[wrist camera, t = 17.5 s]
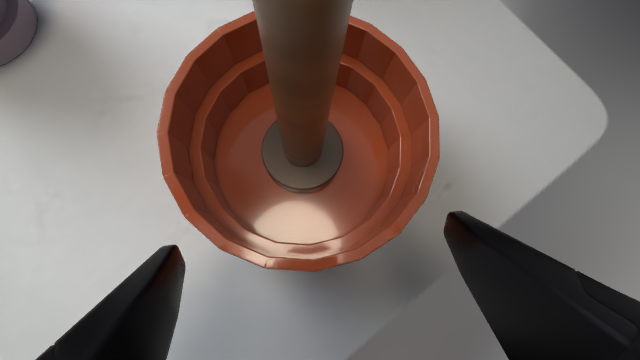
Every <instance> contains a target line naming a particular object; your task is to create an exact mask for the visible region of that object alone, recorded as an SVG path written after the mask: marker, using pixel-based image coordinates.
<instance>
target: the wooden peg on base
mask: <svg viewBox="0 0 640 360" xmlns="http://www.w3.org/2000/svg"><path fill="white" fill-rule="evenodd" d="M252 1H253V6H254V10H255V15H256V20H257V25H258V30H259V34H260V39H261V44H262V49H263V54H264V58H265V63H266V68H267V73H268V78H269V82H270V87H271V92H272V97H273V101H274V106H275V111H276V116H277V120H276V121H275V122H274V123H273V124H272V125H271V126H270V127H269V129H268V130H267V132H266V134H265V136H264V138H263V142H262V149H261V152H262V159H263V163H264V165H265V167H266V169H267V171H268V173H269V175H270V177H271V178H272V179H273V180H274V182H275V183H277V184H278V185H279V186H280V187H282V188H284V189H286V190H288V191H291V192H294V193H311V192H315V191H317V190H320V189H322V188H323V187H325V186H326V185H328V184H329V183H330V182H331V181H332V180H333V178H334V177H335V175H336V174H337V172H338V170H339V168H340V165H341V163H342V159H343V143H342V139H341V137H340V134H339V132H338V131H337V129H336V128H335V127H334V125H333V124H332V123H331V122H329V121H328V118H329V113H330V109H331V104H332V99H333V94H334V89H335V85H336V80H337V75H338V70H339V65H340V61H341V56H342V51H343V46H344V41H345V37H346V32H347V27H348V22H349V17H350V13H351V8H352V3H353V0H252Z"/></svg>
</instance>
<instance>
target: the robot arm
mask: <svg viewBox="0 0 640 360" xmlns="http://www.w3.org/2000/svg"><path fill="white" fill-rule="evenodd" d="M444 236H445V239H446V241H447V243H448V246H449V248H450V250H451V253H452V255H453V257H454V260H455V262H456V264H457V266H458V269H459V271H460V273H461V275H462V277H463V279H464V281H465V283H466V284H467V286H468V288H469V290H470V292H471V293H472V295H473V297H474V299H475V300H476V302H477V304H478V306H479V307H480V309H481V311H482V312H483V315H484V316H485V318H486V320H487V322H488V323H489V325H490V327H491V329H492V330H493V332H494V334H495V336H496V338H497V339H498V341H499V343H500V345H501V346H502V348H503V350H504V352H505V353H506V355H507V357H508V359H509V360H640V302H639V301H637V300H635V299H633V298H631V297H629V296H627V295H625V294H622V293H620V292H618V291H616V290H614V289H612V288H610V287H608V286H606V285H604V284H602V283H600V282H598V281H596V280H594V279H592V278H590V277H588V276H586V275H584V274H583V273H581V272H579V271H575V270H574V269H573V268H571V267H569V266H567V265H565V264H563V263H561V262H559V261H557V260H555V259H553V258H552V257H550V256H548V255H546V254H544V253H542V252H540V251H538V250H536V249H534V248H532V247H530V246H528V245H526V244H524V243H523V242H520V241H519V240H517V239H515V238H513V237H511V236H509V235H507V234H505V233H503V232H501V231H499V230H498V229H496V228H494V227H492V226H490V225H488V224H486V223H484V222H482V221H480V220H478V219H476V218H474V217H472V216H471V215H469V214H467V213H465V212H463V211H454V212H450V213H449V214H448V215H447V219H446V223H445V227H444ZM184 275H185V262H184V259H183V257H182V255H181V252H180V250H179V248H178V246H177V245H168V246H163V247H161V248H160V249H159V250H157V251H156V252H155V253H154V254H153V255H152V256H151V257H150V258H149V259H147V260H146V261H145V262H144V263H143V264H142V265H141V266H140V267H138V268H137V269H136V270H135V271H134V272H133V273H132V274H131V275H130V276H128V277H127V278H126V279H125V280H124V281H123V282H122V283H121V284H120V285H118V286H117V287H116V288H115V289H114V290H113V291H112V292H111V293H110V294H108V295H107V296H106V297H105V298H104V299H103V300H102V301H101V302H99V303H98V304H97V305H96V306H95V307H94V308H93V309H92V310H91V311H89V312H88V313H87V314H86V315H85V316H84V317H83V318H82V319H81V320H79V321H78V322H77V323H76V324H75V325H74V326H73V327H72V328H71V329H69V330H68V331H67V332H66V333H65V334H64V335H63V336H62V337H60V338H59V339H58V340H57V341H56V342H55V343H54V345H52V346H50V347H49V348H48V349H47V350H46V351H45V352H44V353H42V354H41V355H40V356H39V357H38V358H37V359H36V360H166V359H167V355H168V351H169V348H170V344H171V340H172V337H173V333H174V329H175V326H176V322H177V318H178V313H179V307H180V301H181V294H182V288H183V281H184Z"/></svg>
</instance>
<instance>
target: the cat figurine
mask: <svg viewBox="0 0 640 360" xmlns="http://www.w3.org/2000/svg"><path fill="white" fill-rule="evenodd" d="M36 26H37V17H36V13H35V10H34V7H33V6H32V5H31V4H30V2H29V1H28V0H0V65H3V64H6V63H7V62H9V61H11V60H12V59H14V58H16V57H17V56H19V55H20V54H21V53H22V52H23V51H24V50H25V49H26V48H27V46H28V45H29V44H30V43H31V41H32V39H33V36H34V34H35V32H36Z"/></svg>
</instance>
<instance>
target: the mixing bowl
mask: <svg viewBox="0 0 640 360" xmlns="http://www.w3.org/2000/svg"><path fill="white" fill-rule="evenodd" d="M276 120H277V116H276V111H275V106H274V101H273V97H272V92H271V87H270V82H269V78H268V73H267V68H266V63H265V58H264V54H263V49H262V44H261V39H260V34H259V30H258V25H257V20H256V15H255V11H253V12H251V13H249V14H247V15H244V16H242V17H240V18H238V19H236V20H234V21H232V22H229V23H227V24H225V25H223V26H221V27H219V28H217V29H216V30H215V31H214V32H212V33H211V34H210V35H209V36H208V37H207V38H206V39H205V40H203V41H202V42H201V43H200V44H199V45H198V46H197V47H196V48H194V49H193V50H192V51H191V52H190V53H189V54H188V55H187V56H186V57H185V59H184V61H183V62H182V64H181V66H180V67H179V69H178V71H177V72H176V74H175V76H174V78H173V79H172V81H171V83H170V84H169V86H168V88H167V89H166V92H165V95H164V100H163V105H162V110H161V115H160V120H159V125H158V129H157V138H158V145H159V152H160V159H161V166H162V173H163V176H164V180H165V182H166V184H167V185H168V187H169V189H170V191H171V193H172V195H173V197H174V199H175V200H176V202H177V204H178V206H179V208H180V210H181V212H182V214H183V215H184V217H185V218H186V219H187V220H188V221H189V222H190V223H191V224H192V225H193V226H195V227H196V228H197V229H198V230H199V231H200V232H201V233H202V234H203V235H205V236H206V237H207V238H208V239H209V240H210V241H211V242H212V243H213V244H214V245H216V246H217V247H218V248H219V249H221V250H222V251H225V252H227V253H230V254H232V255H234V256H237V257H239V258H241V259H244V260H246V261H248V262H251V263H253V264H256V265H258V266H260V267H263V268H266V269H279V270H293V271H307V272H314V271H315V272H316V271H320V270H324V269H327V268H331V267H335V266H339V265H343V264H346V263H350V262H354V261H358V260H360V259H363V258H364V257H366V256H367V255H369V254H370V253H372V252H373V251H375V250H376V249H378V248H379V247H381V246H382V245H384V244H385V243H387V242H388V241H390V240H391V239H393V238H394V237H396V236H397V235H399V233H401V231H402V230H403V229H404V228H405V226H406V225H407V224H408V222H409V221H410V220H411V218H412V217H413V216H414V214H415V213H416V212H417V210H418V209H419V208H420V207H421V205H422V204H423V203H424V201H425V200H426V198H427V195H428V192H429V189H430V186H431V183H432V180H433V177H434V174H435V171H436V168H437V165H438V162H439V116H438V113H437V110H436V107H435V104H434V102H433V99H432V96H431V93H430V90H429V87H428V84H427V81H426V80H425V78H424V76H423V75H422V74H421V72H420V71H419V70H418V68H417V67H416V66H415V64H414V63H413V61H412V60H411V59H410V57H409V56H408V55H407V53H406V52H405V51H404V49H403V48H402V47H401V46H399V45H398V44H397V43H395V42H394V41H393V40H391V39H390V38H389V37H387V36H386V35H385V34H384V33H382V32H381V31H380V30H378V29H377V28H376V27H374V26H373V25H372V24H371V25H370V23H367V22H365V21H362V20H360V19H357V18H355V17H352V16H350V17H349V22H348V27H347V32H346V37H345V41H344V46H343V51H342V56H341V61H340V65H339V70H338V75H337V80H336V85H335V89H334V94H333V99H332V104H331V109H330V113H329V118H328V121H329V122H331V123H332V124H333V125H334V127H335V128H336V129H337V131H338V132H339V134H340V137H341V139H342V143H343V159H342V163H341V165H340V168H339V170H338V172H337V174H336V175H335V177H334V178H333V180H332V181H331V182H330V183H329V184H328V185H326V186H325V187H323V188H322V189H320V190H317V191H315V192H311V193H294V192H291V191H288V190H286V189H284V188H282V187H280V186H279V185H278V184H277V183H275V182H274V180H273V179H272V178H271V177H270V175H269V173H268V171H267V169H266V167H265V165H264V163H263V159H262V152H261V149H262V142H263V138H264V136H265V134H266V132H267V130H268V129H269V127H270V126H271V125H272V124H273V123H274V122H275V121H276Z"/></svg>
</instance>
